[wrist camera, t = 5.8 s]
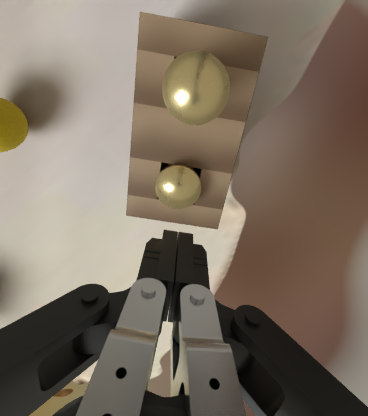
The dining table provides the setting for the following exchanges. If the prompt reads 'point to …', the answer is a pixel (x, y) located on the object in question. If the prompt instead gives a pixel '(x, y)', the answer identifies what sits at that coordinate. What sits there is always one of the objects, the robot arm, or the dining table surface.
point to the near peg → (196, 87)
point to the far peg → (178, 186)
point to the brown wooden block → (180, 132)
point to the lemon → (11, 126)
